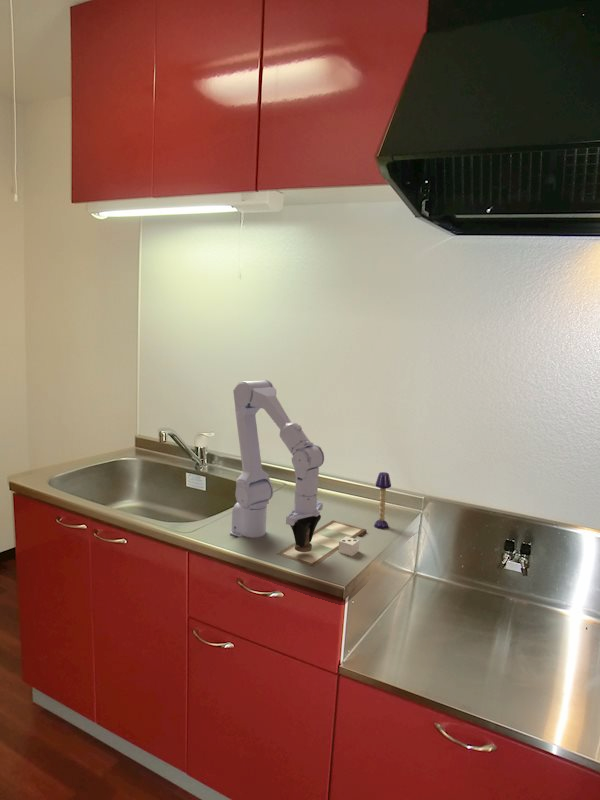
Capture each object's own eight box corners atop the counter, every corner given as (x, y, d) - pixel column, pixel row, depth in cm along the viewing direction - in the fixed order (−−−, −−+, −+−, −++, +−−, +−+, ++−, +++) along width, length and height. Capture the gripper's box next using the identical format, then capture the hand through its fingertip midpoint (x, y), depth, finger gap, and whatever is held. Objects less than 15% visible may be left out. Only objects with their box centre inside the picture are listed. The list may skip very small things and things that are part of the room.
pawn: (291, 549, 134) (292, 525, 133) (300, 543, 138) (301, 520, 137) (305, 553, 132) (307, 529, 131) (314, 548, 136) (316, 524, 135)
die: (338, 555, 138) (339, 540, 137) (345, 550, 141) (346, 536, 141) (351, 559, 136) (352, 544, 135) (358, 554, 139) (359, 539, 139)
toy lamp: (370, 526, 158) (374, 473, 156) (375, 521, 162) (379, 470, 160) (385, 530, 156) (389, 476, 154) (390, 525, 160) (394, 472, 158)
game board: (276, 556, 135) (276, 553, 135) (332, 522, 160) (332, 520, 160) (313, 569, 129) (313, 566, 129) (366, 532, 154) (366, 529, 154)
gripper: (304, 504, 125) (301, 557, 127) (333, 489, 137) (330, 538, 139) (280, 497, 128) (277, 549, 130) (310, 483, 140) (308, 531, 142)
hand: (303, 543), depth 135 cm, fingers closed on pawn, 3 cm apart
